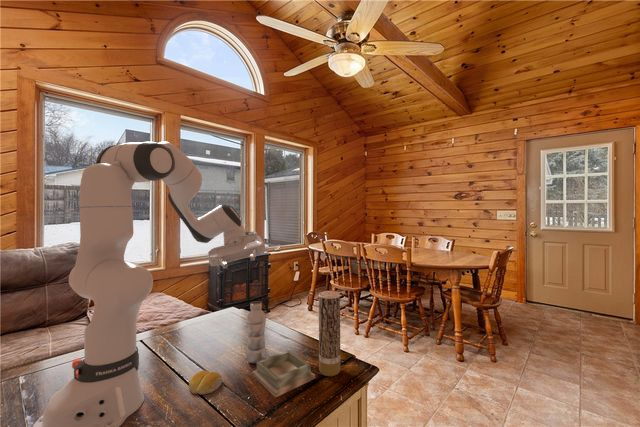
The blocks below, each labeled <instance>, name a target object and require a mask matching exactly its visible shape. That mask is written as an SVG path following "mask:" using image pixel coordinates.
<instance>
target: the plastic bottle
mask: <svg viewBox="0 0 640 427" xmlns="http://www.w3.org/2000/svg"><path fill="white" fill-rule="evenodd" d="M262 304H263V303H262V301H260V300H259V301H258V300H257V301H251V302H250V307H249V309H250V311H249V313H248V314H247V316H246V320H245V321H246V327H247V348H246V352H245V353H246V354H245V356H246V360H247V362H249V363H250V364H257V362H259V361H261V360H264V359H266V354H267V348H266V342H265V330H266V328H265V327H266V322H267V316H266V313H265V312H264V311H263V310H262V309H263V306H262Z"/></svg>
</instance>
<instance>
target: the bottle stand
mask: <svg viewBox="0 0 640 427" xmlns="http://www.w3.org/2000/svg"><path fill="white" fill-rule="evenodd" d="M251 372H252V373H251V374H252V377H254V379H255V380H256V381H257V382H258V383H259V384H261V385H262V386H263V387H264V388H265V389H266V390H267V391H268V392H269V393H270V394H271V395H272V396H273V397H274V398H278V397H281V396H282V395H284V394H285V393H288V392H290V391H292V390H294V389H296V388H299V387H301V386H302V385H304V384H307V383H309V382H312V381H314V380H315V379H316V373H314V372H312V371H311V364H310V363H308V361H306V360H305V359H303V358H302V357H300V356H298V355H297V354H295V353H293V352H292V351H291V350H290V349H288V350H286V351H283V352H280V353H277V354H276V355H275V354H274V355H273V356H270V357H267V358H265V359H264V360H261V361H259V362H257V363H256V369H255V370H253V371H251Z"/></svg>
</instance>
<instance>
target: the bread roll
mask: <svg viewBox="0 0 640 427" xmlns="http://www.w3.org/2000/svg"><path fill="white" fill-rule="evenodd" d="M222 383H223V379H222V375H221V374H220V373H219V372H216V371H209V370H201V371H198V372H196V373H195V374H194V375H192V376H191V378H190V380H189V383H188V388H189V392H190V393H192V394H196V395H197V394H198V395H208V394H211V393H214V391H216V390H218V388H220V386H221V385H222Z"/></svg>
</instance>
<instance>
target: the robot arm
mask: <svg viewBox="0 0 640 427" xmlns="http://www.w3.org/2000/svg"><path fill="white" fill-rule="evenodd" d="M202 177H203V176H202V174H201V171H200V170H199V169H198V167H197V166H196V165H195V163H194V162H193V161H192V160H191V159H190V158H189V157H188V156H187V155H186V154H185V152H183V151H182V150H181V149H180V148H178V147H177V146H176V145H175V144H173V143H171V142H168V141H160V142H154V141H143V142H133V141H132V142H131V141H129V142H126V143H125V142H124V143H119V144H113V145H109V146H107V147H105V148H104V149H102V150H101V151H100V152H99V153H98V155H97V157H96V162H95V163H94V164H91V165H88V166H87V167H86V168H84V170H83V172H82V174H81V178H80V184H79V194H78V202H79V203H78V207H79V229H80V230H79V231H80V232H79V233H80V236H79V237H80V238H79V247H78V251H77V257H76V260H75V264H74V267H73V268H72V269H71V271H70V272H69V276H68V284H69V286H70V288H71V290H72V291H74V293H76V294H77V295H78V296H79V297H81V298H84V299H87V300H91V301H93V304H94V306H93V313H92V316H91V319H90V322H89V323H88V324H87V326H86V327H85V328H84V331H83V338H84V340H83V344H84V345H83V347H84V348H83V350H84V352H83V353H84V358H83V359H81V358H79V357H78V358H75V359H73V361H72V363H71V368H72V369H73V378H72V379H71V380H70V381H68V382H67V383H65V385H64V386H63V387H61V388H60V389H59V390H57V391H56V392H55V393H54V394H53V395H52V396H51V398H50V399H49V400H48V402H47V404H46V407H45V409H44V412H43V414H42V415H41V416H40V417H39V418H38V419H37V420H36V421H35V422H34V424H33V426H32V427H121V425H123V424H124V422H125V420H127V418H128V417H129V416H131V415H132V414H133V413H135V412H136V411H137V410H139V409H140V407H141V406H142V405H143V403H144V401H145V395H144V392H143V388H142V386H141V382H140V377H139V366H140V351H139V347H138V346H137V322H138V317H139V312H140V309H141V306H142V303H143V301H145V300H146V299H147V298H148V297H149V295H150V294H151V292H152V290H153V286H154V278H153V275H152V273H151V272H150V271H149V269H147V268H146V267H144V266H143V265H140V264H138V262H137V263H136V262H134V261H127V260H125V252H126V249H127V246H128V243H129V241H131V239H132V238H133V236H134V214H133V198H132V189H133V186H134V184H135V183H146V182H151V181H152V182H153V181H154V182H155V181H160V180H161V181H162V182H163V183H164V184H165V185H166V186H167V188H168V189H169V192H168V194H167V197H168V201H169V203H170V205H171V206H172V208H173V210H174V211H175V212H176V214H177V215H178V217H179V218H180V219H181V221H182V223H184V225H185V227H187V228H188V231H189V232H190V234H191V237H193V239H194V240H195V241H196V242H198V243H202V244H203V243H204V244H208V243H210V242H211V241H212V240H213V239H214V238H216V237H217V236H220V235H221V234H223V245H221V246H216V247H214V248H211V249H210V250H209V251H208V254H207V256H208V257H207V258H208V263H209V265H210V266H211V267H216V266H219V265H220V266H222V269H227V268H229V267H228V266H229V265H228V263H232V262H235V261H238V260H243V259H246V258H249V259H250V262H254V261H256V257H257V256H258V255H261V254H264V253H265V252H266V251H267V250H266V246H265V242H264V240H263V239H262V237H261V236H259V234H258V232H257V231H246V230H245V227H244V225H243V223H242V220H241V217H240V214H239V213H238V211H237V210H235V208H234V207H233V206H231V205H228V204H226V203H225V204H223V203H222V204H220V205H218V206H217V207H214V208H213V209H211V210H210V211H209V212H207V213H205V214H203V215H202V216H199V217H196V216H195V215H194V213H193V212H192V211H191V209H190V207H189V204H190V202H191V201H193V198H194V197H195V196H196V195H197V194H198V193H199V191H200V190H201V187H202V183H203V178H202ZM40 421H41V422H40Z"/></svg>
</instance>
